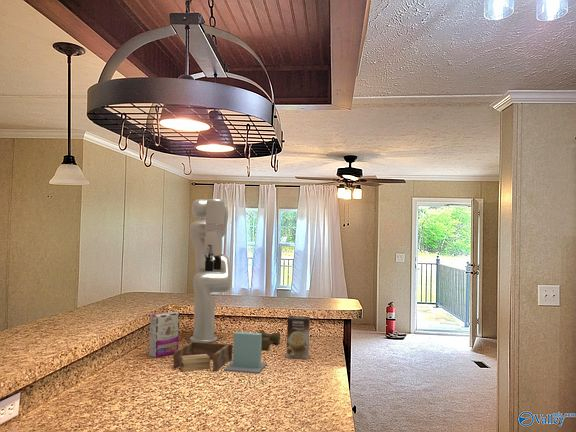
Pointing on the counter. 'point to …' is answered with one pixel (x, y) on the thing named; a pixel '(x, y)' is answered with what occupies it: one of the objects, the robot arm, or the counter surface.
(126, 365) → the counter surface
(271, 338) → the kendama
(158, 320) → the candy bar box
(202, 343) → the frame
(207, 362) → the offcut stack
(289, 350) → the coffee box
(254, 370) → the slate mat
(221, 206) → the robot arm
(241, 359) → the pale teal block
